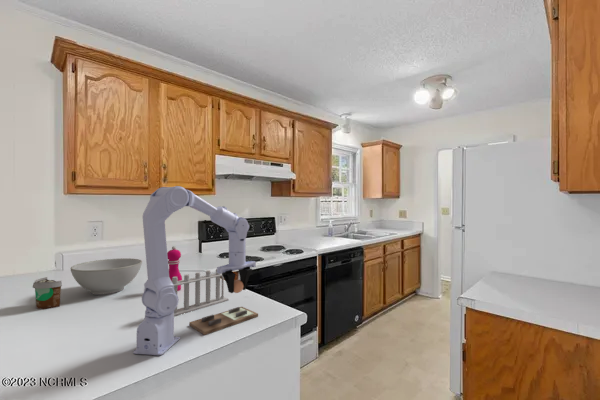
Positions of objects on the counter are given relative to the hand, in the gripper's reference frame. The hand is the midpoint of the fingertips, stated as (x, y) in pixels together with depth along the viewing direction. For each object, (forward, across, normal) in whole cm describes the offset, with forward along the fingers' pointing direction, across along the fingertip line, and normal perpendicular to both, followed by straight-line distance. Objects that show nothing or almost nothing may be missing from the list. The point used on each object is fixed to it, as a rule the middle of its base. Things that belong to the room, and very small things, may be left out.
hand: (237, 290), depth 100 cm
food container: (+9, +46, -61) cm, 76 cm away
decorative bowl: (+9, +23, -68) cm, 72 cm away
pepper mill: (+9, +2, -47) cm, 48 cm away
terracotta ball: (-2, 0, 0) cm, 2 cm away
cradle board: (+9, +5, 0) cm, 10 cm away
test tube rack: (+9, +5, -19) cm, 21 cm away
